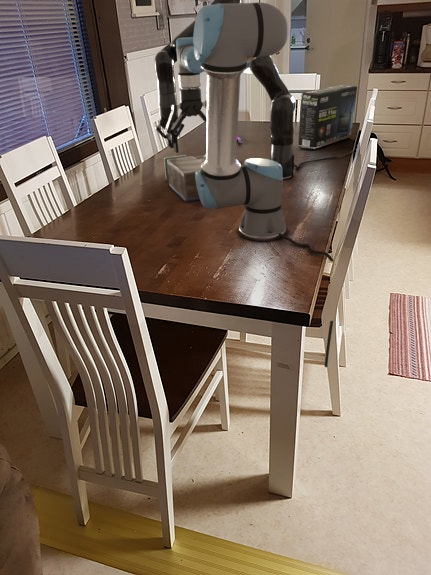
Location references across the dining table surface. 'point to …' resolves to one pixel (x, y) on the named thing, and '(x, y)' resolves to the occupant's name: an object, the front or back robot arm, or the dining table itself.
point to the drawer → (167, 166)
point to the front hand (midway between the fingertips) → (193, 149)
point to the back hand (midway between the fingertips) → (171, 147)
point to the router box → (326, 115)
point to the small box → (184, 177)
